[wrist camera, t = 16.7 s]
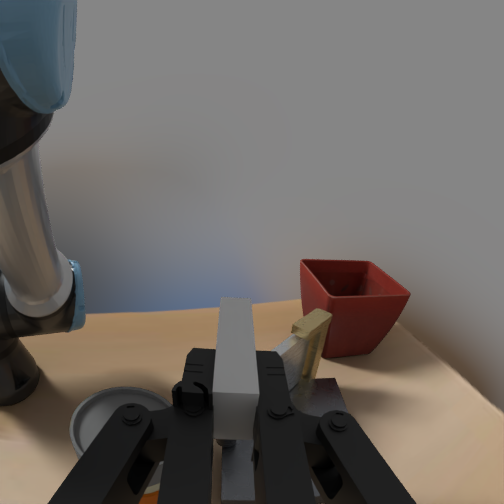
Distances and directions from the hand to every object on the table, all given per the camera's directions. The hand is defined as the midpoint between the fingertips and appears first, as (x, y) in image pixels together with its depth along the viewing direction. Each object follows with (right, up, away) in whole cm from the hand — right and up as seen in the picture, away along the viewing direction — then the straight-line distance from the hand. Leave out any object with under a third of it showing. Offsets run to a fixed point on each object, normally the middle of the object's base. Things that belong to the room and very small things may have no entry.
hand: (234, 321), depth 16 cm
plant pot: (+21, -17, +53) cm, 60 cm away
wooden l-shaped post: (+9, -22, +36) cm, 43 cm away
